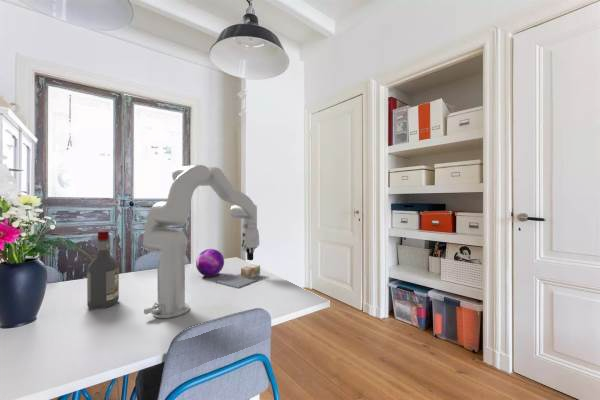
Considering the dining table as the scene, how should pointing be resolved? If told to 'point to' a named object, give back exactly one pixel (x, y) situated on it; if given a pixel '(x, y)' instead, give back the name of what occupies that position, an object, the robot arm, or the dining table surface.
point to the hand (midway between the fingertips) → (250, 259)
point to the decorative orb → (210, 262)
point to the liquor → (102, 276)
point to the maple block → (250, 271)
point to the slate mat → (238, 281)
